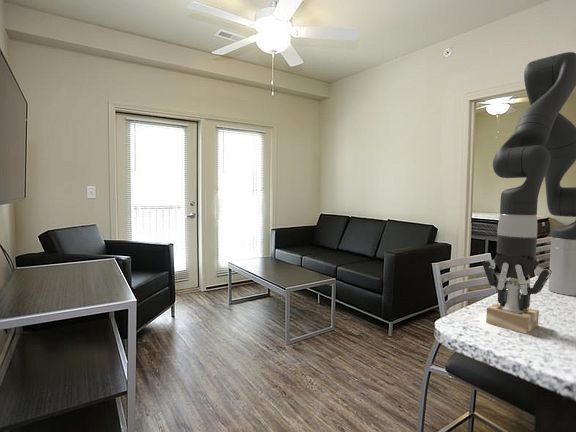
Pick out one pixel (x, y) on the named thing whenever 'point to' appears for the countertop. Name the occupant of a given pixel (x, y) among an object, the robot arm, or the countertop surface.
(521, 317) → the socket block
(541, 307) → the countertop surface
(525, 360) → the countertop surface
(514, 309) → the rook chess piece
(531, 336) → the countertop surface
